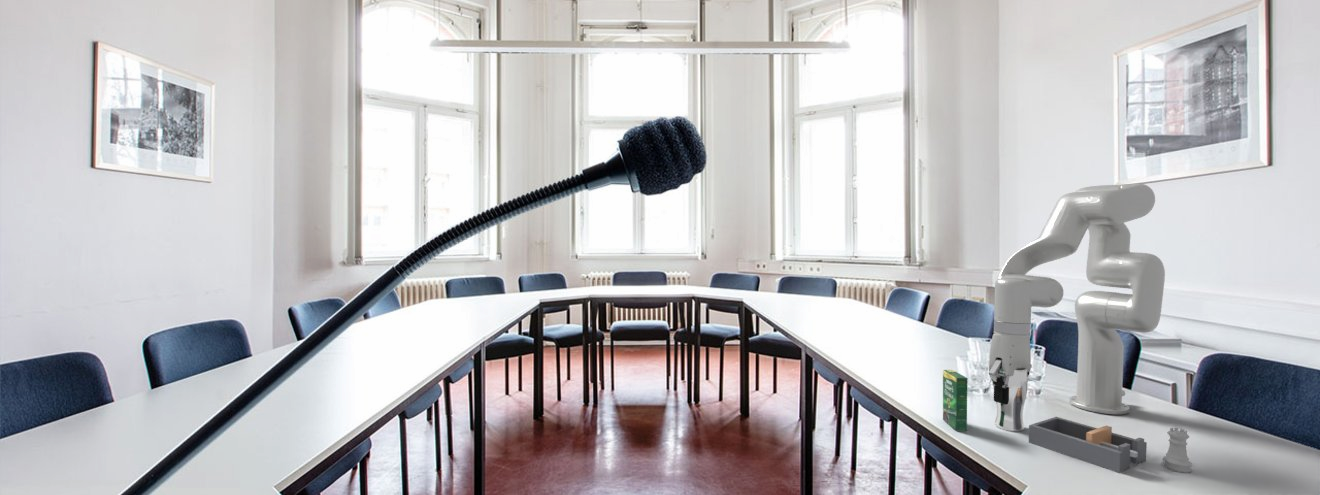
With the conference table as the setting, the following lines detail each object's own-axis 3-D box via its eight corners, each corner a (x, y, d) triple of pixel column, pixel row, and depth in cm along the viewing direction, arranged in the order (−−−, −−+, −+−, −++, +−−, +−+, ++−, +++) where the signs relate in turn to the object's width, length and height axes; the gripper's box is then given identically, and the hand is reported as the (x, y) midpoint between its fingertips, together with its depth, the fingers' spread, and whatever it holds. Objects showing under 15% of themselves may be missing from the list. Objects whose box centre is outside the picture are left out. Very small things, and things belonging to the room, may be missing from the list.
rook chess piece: (1155, 464, 111) (1157, 426, 111) (1175, 463, 112) (1176, 425, 111) (1178, 474, 107) (1179, 434, 107) (1198, 473, 107) (1200, 433, 107)
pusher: (1105, 447, 118) (1106, 425, 118) (1145, 460, 112) (1146, 436, 111) (1085, 455, 114) (1086, 432, 114) (1126, 468, 108) (1127, 444, 107)
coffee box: (941, 419, 137) (942, 368, 137) (953, 419, 137) (954, 368, 136) (954, 431, 129) (955, 377, 129) (967, 431, 129) (968, 378, 128)
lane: (1055, 433, 128) (1056, 412, 128) (1146, 461, 113) (1146, 437, 113) (1028, 442, 123) (1029, 420, 122) (1119, 472, 108) (1120, 448, 107)
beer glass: (1031, 433, 128) (1033, 371, 127) (999, 431, 129) (1001, 369, 128) (1018, 422, 135) (1020, 363, 134) (988, 420, 136) (989, 362, 135)
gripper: (1016, 322, 138) (1014, 391, 139) (974, 329, 130) (973, 401, 131) (1048, 327, 131) (1046, 399, 132) (1006, 334, 123) (1004, 411, 124)
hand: (1010, 399), depth 132 cm, fingers closed on beer glass, 6 cm apart
